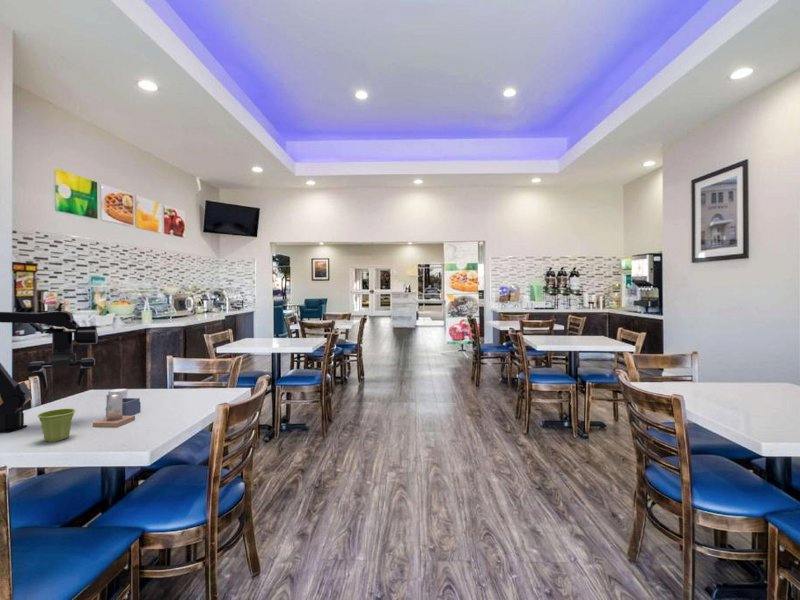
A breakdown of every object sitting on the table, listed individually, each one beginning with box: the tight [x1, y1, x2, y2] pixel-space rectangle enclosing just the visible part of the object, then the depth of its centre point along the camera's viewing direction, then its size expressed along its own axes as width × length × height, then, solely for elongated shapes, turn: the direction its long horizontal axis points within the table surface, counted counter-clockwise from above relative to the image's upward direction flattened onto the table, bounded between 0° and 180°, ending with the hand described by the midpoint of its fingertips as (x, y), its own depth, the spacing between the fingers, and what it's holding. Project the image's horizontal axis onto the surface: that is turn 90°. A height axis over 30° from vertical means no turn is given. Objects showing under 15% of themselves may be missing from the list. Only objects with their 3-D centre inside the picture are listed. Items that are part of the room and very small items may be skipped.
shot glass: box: [107, 388, 129, 398], centre depth 172 cm, size 7×7×7 cm
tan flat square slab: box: [92, 415, 136, 428], centre depth 149 cm, size 9×9×2 cm
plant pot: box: [37, 408, 76, 443], centre depth 132 cm, size 9×9×9 cm
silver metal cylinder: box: [105, 393, 122, 421], centre depth 149 cm, size 5×5×9 cm
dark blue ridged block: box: [122, 397, 142, 416], centre depth 160 cm, size 8×8×6 cm
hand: (62, 387), depth 149 cm, fingers open, 9 cm apart
